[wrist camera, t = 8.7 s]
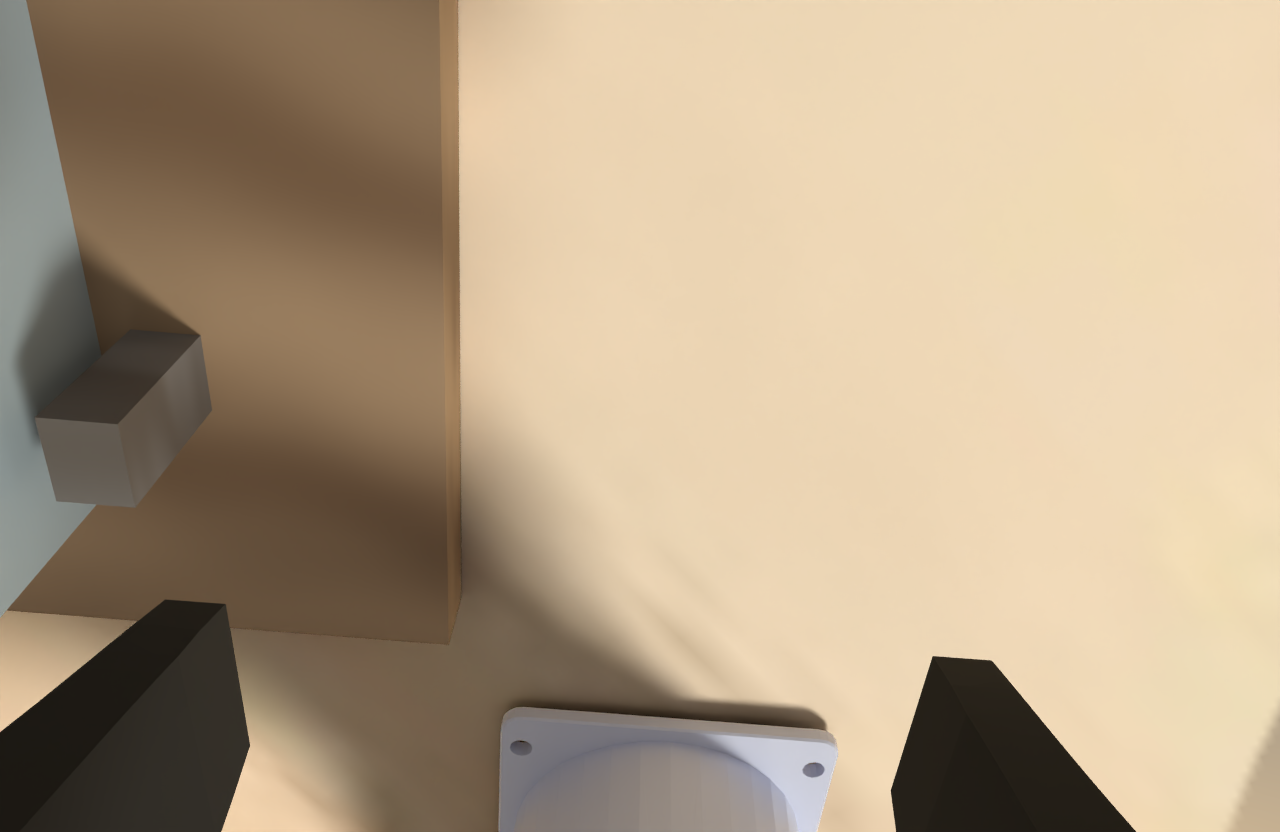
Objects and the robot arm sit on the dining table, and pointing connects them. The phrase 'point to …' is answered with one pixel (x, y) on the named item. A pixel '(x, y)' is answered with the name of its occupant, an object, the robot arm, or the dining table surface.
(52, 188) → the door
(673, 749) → the robot arm
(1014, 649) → the dining table surface
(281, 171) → the plinth
